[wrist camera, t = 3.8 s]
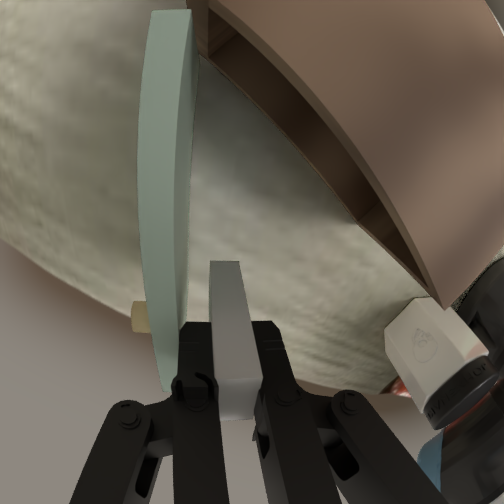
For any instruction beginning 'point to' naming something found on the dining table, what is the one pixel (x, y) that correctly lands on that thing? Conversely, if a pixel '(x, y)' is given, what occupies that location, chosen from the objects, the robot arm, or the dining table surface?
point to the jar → (439, 360)
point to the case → (383, 115)
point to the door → (165, 181)
